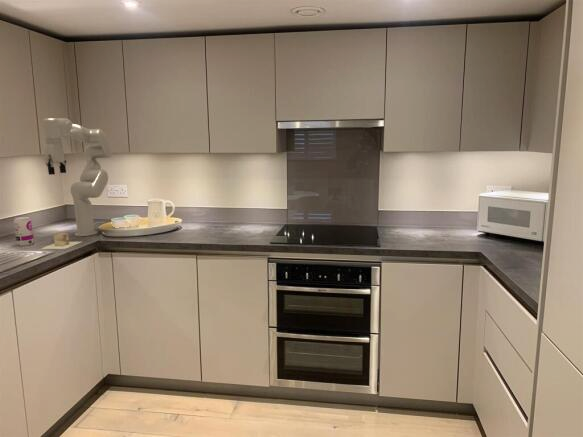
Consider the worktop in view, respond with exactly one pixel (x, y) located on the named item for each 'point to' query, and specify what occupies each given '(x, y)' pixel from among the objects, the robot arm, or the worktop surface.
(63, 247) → the sage mat
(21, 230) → the supplement can
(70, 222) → the worktop surface
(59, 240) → the birch block
